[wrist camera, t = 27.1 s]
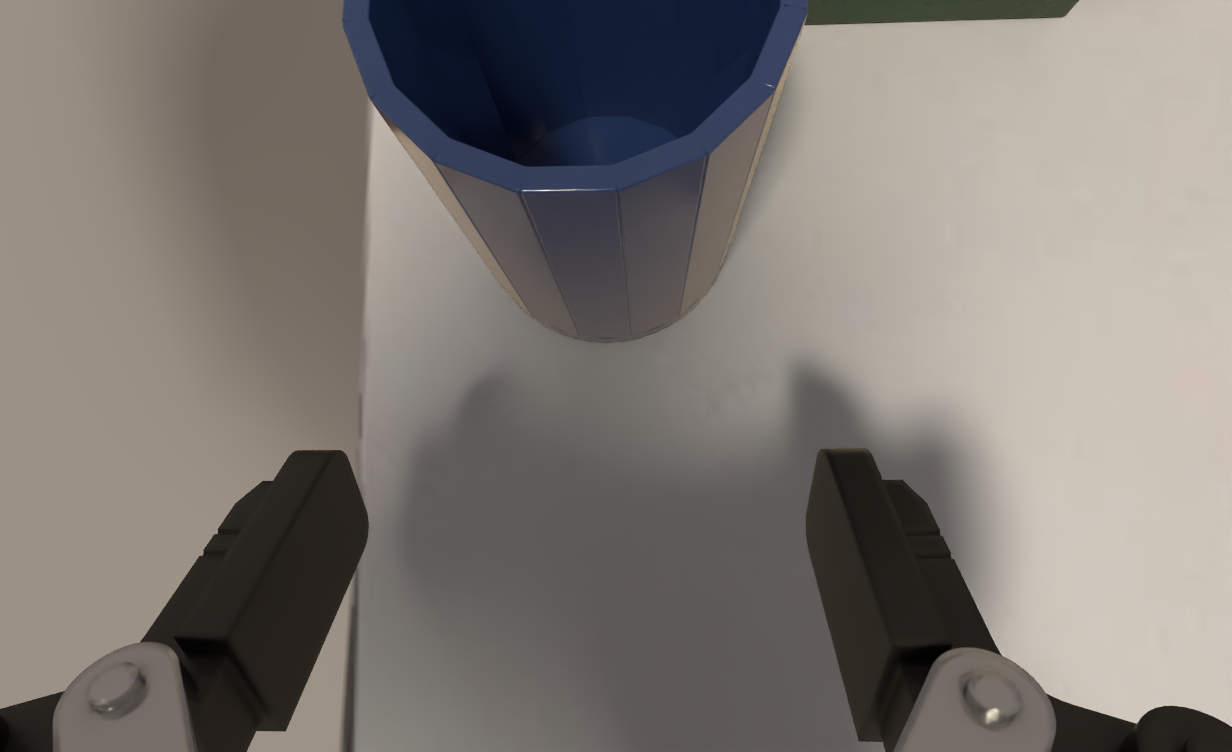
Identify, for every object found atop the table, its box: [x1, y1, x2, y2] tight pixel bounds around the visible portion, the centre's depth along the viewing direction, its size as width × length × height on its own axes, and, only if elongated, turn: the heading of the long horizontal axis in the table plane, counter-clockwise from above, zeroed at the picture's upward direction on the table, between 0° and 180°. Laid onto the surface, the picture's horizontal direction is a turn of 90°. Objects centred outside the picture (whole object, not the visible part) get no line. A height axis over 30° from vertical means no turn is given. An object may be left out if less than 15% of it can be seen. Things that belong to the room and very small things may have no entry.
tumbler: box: [342, 0, 809, 343], centre depth 14 cm, size 7×7×9 cm
